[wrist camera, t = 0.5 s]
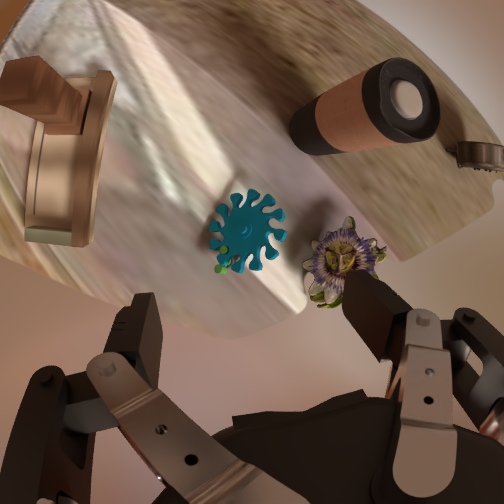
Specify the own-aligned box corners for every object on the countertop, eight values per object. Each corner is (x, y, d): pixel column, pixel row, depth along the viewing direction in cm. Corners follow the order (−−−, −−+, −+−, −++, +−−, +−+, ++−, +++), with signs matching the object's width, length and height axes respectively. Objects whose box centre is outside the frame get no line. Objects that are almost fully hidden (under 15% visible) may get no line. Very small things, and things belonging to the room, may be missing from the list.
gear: (241, 172, 35) (301, 219, 31) (261, 189, 40) (315, 232, 36) (187, 242, 37) (236, 297, 32) (213, 250, 42) (259, 299, 38)
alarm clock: (470, 147, 45) (532, 147, 30) (472, 172, 47) (534, 176, 31) (441, 141, 43) (511, 137, 28) (443, 169, 44) (513, 172, 29)
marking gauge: (52, 94, 26) (-4, 55, 13) (92, 92, 28) (48, 45, 14) (42, 135, 27) (-22, 113, 14) (83, 135, 29) (28, 107, 15)
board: (53, 84, 28) (41, 74, 23) (117, 82, 30) (110, 70, 26) (31, 234, 31) (16, 240, 27) (93, 240, 34) (82, 247, 30)
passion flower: (300, 239, 46) (340, 198, 36) (356, 267, 47) (403, 236, 37) (281, 303, 41) (324, 274, 30) (343, 330, 42) (397, 310, 32)
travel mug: (339, 112, 38) (440, 76, 19) (335, 162, 39) (442, 153, 20) (290, 99, 36) (376, 42, 17) (284, 152, 37) (376, 126, 18)
